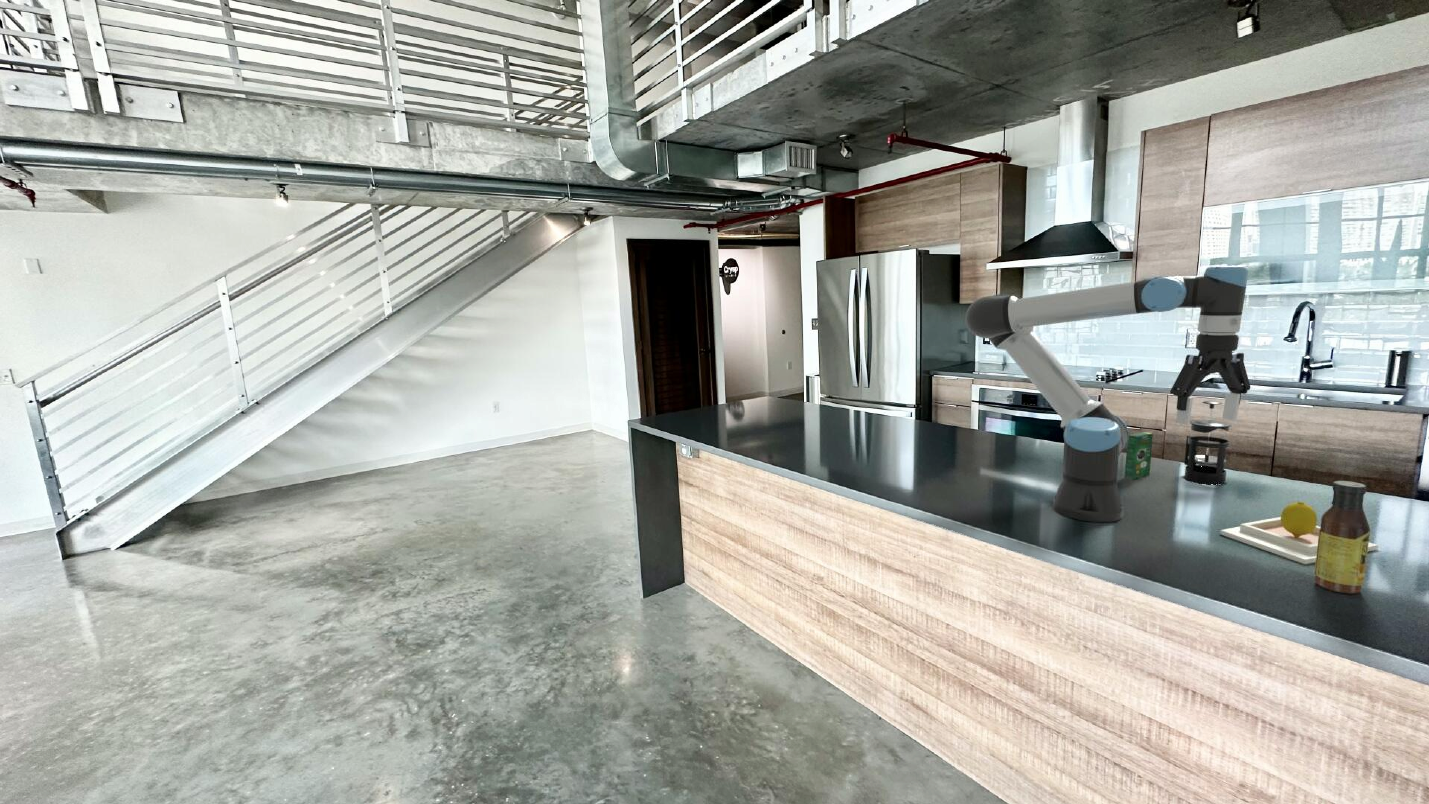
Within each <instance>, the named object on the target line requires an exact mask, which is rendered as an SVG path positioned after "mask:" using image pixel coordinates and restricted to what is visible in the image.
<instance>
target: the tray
mask: <svg viewBox="0 0 1429 804" xmlns="http://www.w3.org/2000/svg"><path fill="white" fill-rule="evenodd" d="M1320 527H1321V526H1319V525H1316V527H1315V529H1314V531H1313V532H1311V533H1309V534H1307V535H1301V536H1299V537H1295V536H1294V535H1293V534H1292V533H1290V532H1288V531H1286V530H1285V529H1284V527H1283V526H1282V524H1281V516H1278V517H1272V518H1268V519H1266V518H1265V519H1261V520H1256V521H1250V522H1245V523H1240V525H1239V526H1236V527H1229V528H1225V529H1220V533H1219V534H1220V535H1222V536H1224V537H1227V538H1230V539H1232V540H1235V541H1237V542H1242V543H1245V544H1247V545H1250V546H1252V547H1255V548H1257V549H1258V548H1259V549H1261V550H1263V551H1267V552H1270V553H1273V554H1275V555H1277V556H1280V557H1283V558H1285V559H1289V560H1292V561H1295V562H1298V563H1300V564H1304V565H1308V564H1313V563H1316V555H1317V546H1318V537H1319V530H1320ZM1378 549H1379V545H1378V544H1375V543H1372V542H1369V544H1368V552H1373V551H1376V550H1377V551H1378Z"/></svg>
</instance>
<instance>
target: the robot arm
mask: <svg viewBox="0 0 1429 804" xmlns="http://www.w3.org/2000/svg"><path fill="white" fill-rule="evenodd" d="M1247 282H1248V269H1247V268H1246V267H1245V266H1243V265H1227V266H1208V267H1206V269H1205V271H1204V273H1203V274H1200V275H1192V276H1191V275H1182V276H1181V275H1180V276H1179V275H1178V276H1177V275H1175V276H1162V275H1161V276H1158V275H1157V276H1152V277H1145V278H1143V279H1142V280H1138V281H1129V282H1124V283H1122V282H1121V283H1115V284H1109V285H1103V286H1097V287H1095V286H1094V287H1089V288H1082V289H1076V290H1068V291H1062V292H1055V293H1050V294H1043V295H1037V296H1036V295H1035V296H1029V297H1022V298H1018V297H1016V296H1015V295H1009V294H1004V293H1002V294H999V293H998V294H993V295H987V296H983V297H980V298H977V299H976V300H974V301H973V302H972V303H971V304H970V305H969V306H968V308H967V311H966V313H965V324H966V326H967V329H968V330H969V331H970V332H971V333H972V334H973V335H975V336H976V337H979V338H982V339H988V340H989V342H991V344H992V345H993V347H995V349H996V350H1002V351H1005V352H1006V353H1007V354H1008V355H1009V356H1010V358H1011V359H1012V360H1013V361H1014V362H1015V364H1016V365H1017V366H1018V367H1019V369H1020V370H1021V371H1022V372H1023V374H1024V375H1025V376H1026V377H1027V378H1028V380H1030V382H1031V383H1032V384H1033V386H1034V387H1035V388H1036V389H1037V390H1038V392H1039V393H1040V394H1041V395H1042V397H1043V398H1044V399H1045V400H1046V401H1047V403H1048V404H1049V405H1050V406H1051V407H1052V409H1053V410H1054V411H1055V412H1056V414H1058V416H1059V417H1060V418H1061V423H1060V428H1061V429H1062V430H1063V440H1064V441H1063V442H1064V443H1063V456H1062V457H1063V459H1062V479H1061V481H1060V484H1059V486H1058V489H1057V492H1056V494H1055V495H1054V497H1053V501H1052V502H1053V503H1052V508H1053V509H1054V511H1055V512H1056V513H1058V514H1060V515H1061V516H1064V517H1067V518H1071V519H1075V520H1079V521H1083V522H1084V521H1085V522H1093V523H1109V522H1116V521H1120V520H1121V519H1122V518H1124V509H1125V508H1124V505H1123V503H1122V502H1121V497H1120V492H1119V489H1118V484H1117V481H1118V472H1119V471H1118V470H1119V459H1120V455H1121V454H1122V452H1123V451H1124V450H1126V449H1127V444H1128V440H1129V435H1130V434H1129V429H1128V426H1127V425H1126V423H1125V422H1124V421H1123V419H1122V418H1121V417H1119V416H1118V415H1116V414H1114V413H1112V412H1111V411H1110V409H1108V407H1107V406H1105V404H1104V403H1103V402H1102V401H1095V400H1093V399H1091V398H1090V396H1089V395H1088V394H1087V393H1086V391H1085V390H1084V389H1083V388H1082V387H1081V386H1080V385H1079V383H1078V382H1077V381H1076V380H1075V379H1074V378H1073V377H1072V375H1071V374H1070V373H1069V371H1067V370H1066V368H1065V367H1064V366H1063V364H1062V363H1060V362H1059V360H1058V359H1057V358H1056V357H1055V356H1054V354H1053V353H1052V352H1051V351H1050V350H1049V348H1048V347H1047V346H1046V345H1045V344H1044V343H1043V341H1042V340H1041V339H1040V338H1039V337H1038V335H1037V334H1036V333H1035V332H1034V327H1039V326H1047V325H1055V324H1064V323H1072V322H1073V323H1074V322H1079V321H1087V320H1094V319H1095V320H1096V319H1097V320H1098V319H1104V318H1112V317H1120V316H1121V317H1122V316H1129V315H1137V314H1146V313H1147V314H1149V313H1154V312H1155V313H1156V312H1158V313H1162V312H1163V313H1165V312H1170V311H1173V310H1175V309H1183V308H1184V309H1185V308H1186V309H1188V308H1189V309H1190V308H1192V309H1196V308H1200V312H1199V317H1198V325H1197V331H1198V332H1200V333H1199V334H1198V335H1196V339H1195V341H1196V342H1195V349H1196V350H1198V351H1199V352H1198V354H1197V355H1195V354H1187V355H1186V356H1185V361H1184V364H1183V366H1182V367H1181V370H1180V372H1179V373H1178V375H1177V377H1176V379H1175V381H1174V383H1173V385H1172V387H1171V389H1170V394H1171V395H1173V396H1177V400H1176V410H1177V412H1176V420H1175V423H1177V424H1181V425H1186V426H1189V425H1190V421H1191V417H1192V416H1191V415H1192V408H1193V402H1194V401H1193V400H1194V399H1193V397H1191V395H1192V394H1193V393H1194V391H1196V389H1197V388H1199V387H1198V386H1200V384H1201V383H1202V382H1203V381H1204V379H1205V378H1206V377H1208V376H1209V375H1211V374H1217V373H1218V374H1219V376H1220V378H1221V379H1222V381H1223V383H1225V386H1226V387H1227V389H1228V390H1229V391H1227V392H1226V393H1225V399H1224V404H1223V410H1222V411H1223V412H1222V419H1223V420H1229V421H1232V422H1234V421H1237V420H1238V413H1239V406H1240V405H1241V398H1242V395H1243V394H1244V395H1246V394H1247V393H1248V391H1250V389H1251V384H1250V380H1249V377H1248V373H1247V370H1246V366H1245V362H1244V361H1245V360H1244V359H1245V354H1244V352H1239V351H1238V352H1237V350H1238V346H1239V340H1240V336H1239V335H1238V334H1237V333H1239V332H1240V330H1241V322H1242V316H1243V311H1244V304H1245V298H1246V290H1247ZM1235 351H1236V352H1235Z"/></svg>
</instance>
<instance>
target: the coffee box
mask: <svg viewBox="0 0 1429 804" xmlns="http://www.w3.org/2000/svg"><path fill="white" fill-rule="evenodd" d="M1153 436H1154V433H1153V432H1147V431H1141V432H1136V433H1131V434H1129V440H1128V444H1127V446H1126V453H1125V465H1124V476H1123V477H1124V478H1126V479H1129V480H1136V479H1139V478H1140V479H1141V478H1143V477H1148V476H1150V473H1151V472H1150V471H1151V460H1152V459H1151V458H1152V447H1153V438H1154V437H1153Z"/></svg>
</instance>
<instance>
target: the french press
mask: <svg viewBox="0 0 1429 804" xmlns="http://www.w3.org/2000/svg"><path fill="white" fill-rule="evenodd" d="M1202 404H1205V405H1209V409H1210V411H1209V412H1210V413H1209V419H1190V424H1191V425H1190V424H1189V425H1190V429H1191V430H1192V431H1194V432H1198V433H1203V434H1207V435H1186V441H1185V450H1184V451H1185V453H1184V462H1183V463H1184V465H1185V467H1184V468H1185V469H1184V475H1183V479H1184V480H1185V481H1186V482H1189V483H1193V484H1197V485H1202V484H1206V485H1205V486H1212V485H1211V484H1213V485H1216V484H1217V485H1218V484H1225V483H1226V484H1227V470H1226V469H1224V467H1225V464H1226V462H1227V460H1226V459H1225V457H1226V449H1227V448H1230V440H1228V439H1226V438H1221V437H1217V436H1216V437H1215V436H1211V432H1214V431H1215V430H1222V431H1226V432H1229V431H1230V430H1229V429H1230V427H1232V423H1230V422H1227V421H1224V420H1223V421H1221V420H1214V419H1212V417H1213V416H1212V415H1213V410H1214V408H1215V405H1222V404H1223V402H1220V401H1216V400H1205V401H1202ZM1202 441H1203V442H1202ZM1204 441H1205V442H1204ZM1210 442H1213V443H1210ZM1198 448H1205V449H1206V452H1205V453H1206V454H1198V450H1199V449H1198ZM1209 449H1217V456H1215V455H1209ZM1201 466H1202V467H1201ZM1226 484H1225V485H1226Z"/></svg>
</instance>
